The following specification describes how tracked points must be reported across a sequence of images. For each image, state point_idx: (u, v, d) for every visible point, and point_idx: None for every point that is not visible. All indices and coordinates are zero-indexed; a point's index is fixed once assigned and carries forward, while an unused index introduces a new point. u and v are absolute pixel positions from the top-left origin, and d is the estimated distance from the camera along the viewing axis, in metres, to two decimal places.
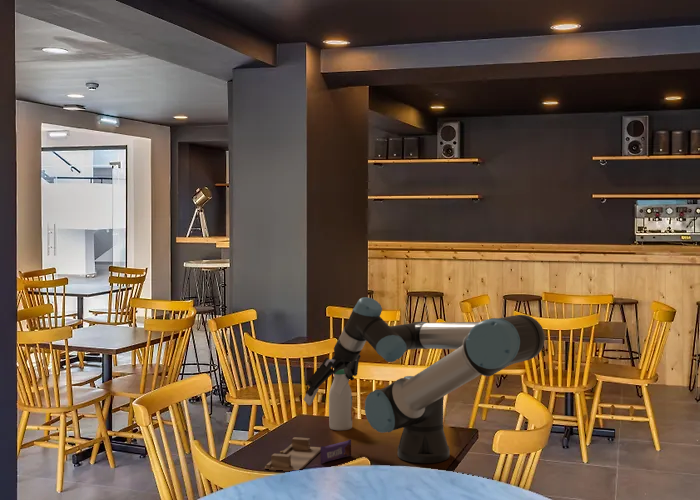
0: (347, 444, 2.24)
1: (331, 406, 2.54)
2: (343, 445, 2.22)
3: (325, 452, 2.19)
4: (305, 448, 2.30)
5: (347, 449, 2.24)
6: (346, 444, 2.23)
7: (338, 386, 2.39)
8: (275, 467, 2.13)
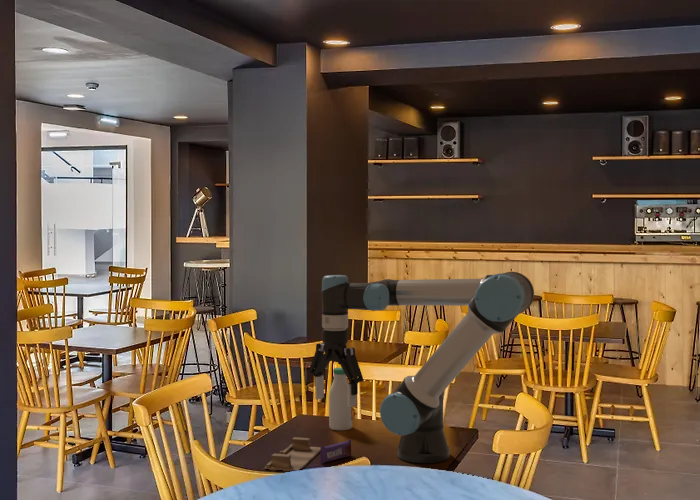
0: (347, 444, 2.24)
1: (331, 406, 2.54)
2: (343, 445, 2.22)
3: (325, 452, 2.19)
4: (305, 448, 2.30)
5: (347, 449, 2.24)
6: (346, 445, 2.23)
7: (318, 391, 2.26)
8: (275, 467, 2.13)
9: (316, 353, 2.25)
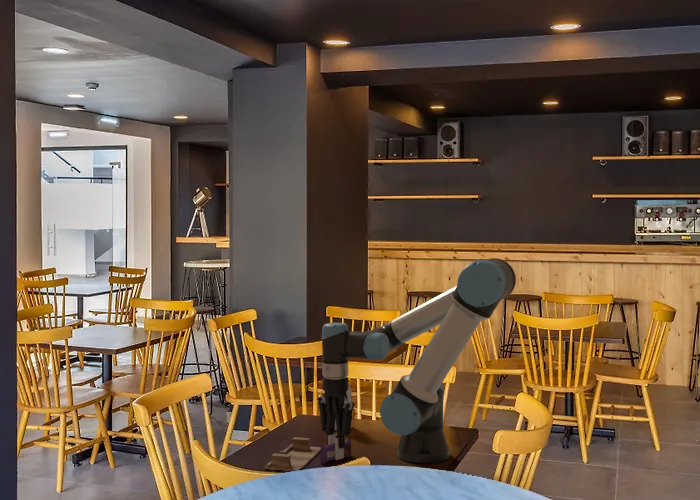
0: (347, 444, 2.24)
1: None
2: None
3: (325, 452, 2.19)
4: (305, 448, 2.30)
5: (347, 449, 2.24)
6: (346, 444, 2.23)
7: None
8: (275, 467, 2.13)
9: (320, 407, 2.24)
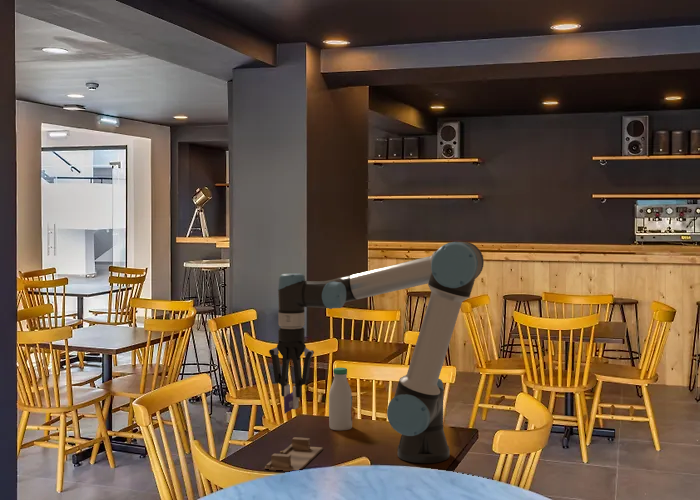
0: None
1: (331, 406, 2.54)
2: None
3: (287, 402, 2.18)
4: (305, 448, 2.30)
5: None
6: None
7: None
8: (275, 467, 2.13)
9: (273, 359, 2.22)
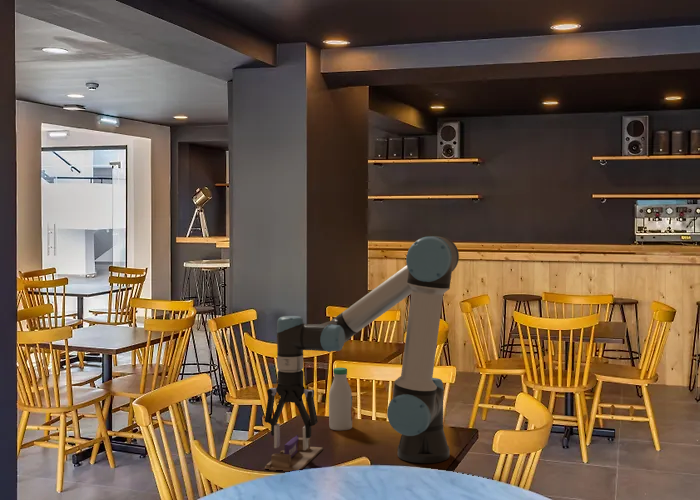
0: (298, 439, 2.26)
1: (331, 406, 2.54)
2: (296, 441, 2.25)
3: (288, 450, 2.19)
4: None
5: (298, 444, 2.26)
6: (298, 440, 2.26)
7: (277, 439, 2.23)
8: (275, 467, 2.13)
9: (269, 399, 2.23)
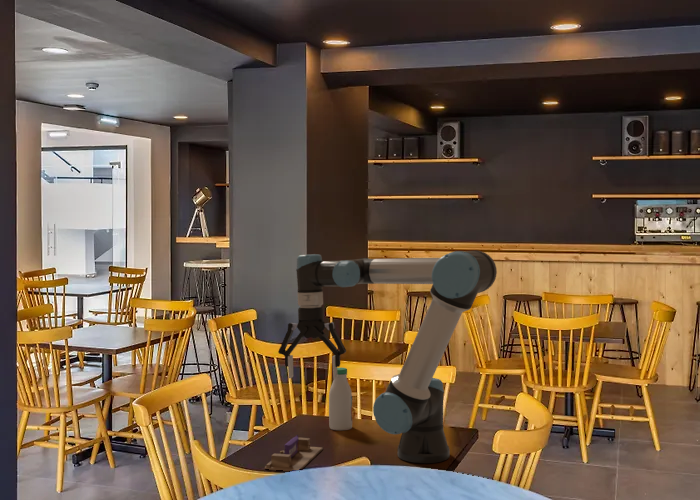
0: (298, 439, 2.26)
1: (331, 406, 2.54)
2: (296, 441, 2.25)
3: (288, 450, 2.19)
4: (305, 448, 2.30)
5: (298, 444, 2.26)
6: (298, 440, 2.26)
7: (291, 370, 2.29)
8: (275, 467, 2.13)
9: (288, 333, 2.29)
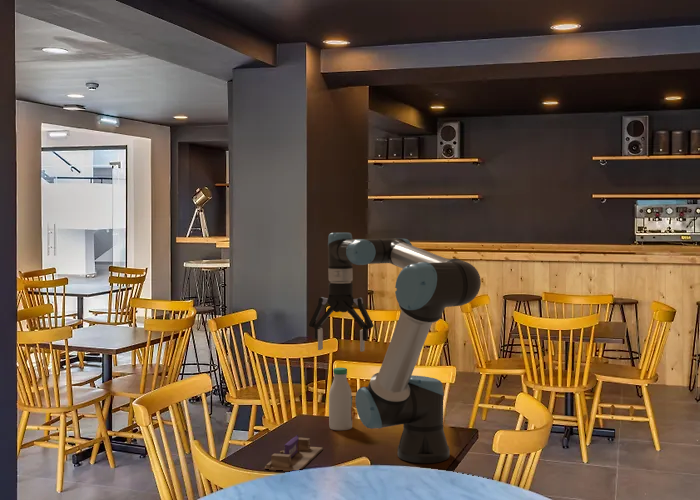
0: (298, 439, 2.26)
1: (331, 406, 2.54)
2: (296, 441, 2.25)
3: (288, 450, 2.19)
4: (305, 448, 2.30)
5: (298, 444, 2.26)
6: (298, 440, 2.26)
7: (320, 342, 2.40)
8: (275, 467, 2.13)
9: (319, 306, 2.40)
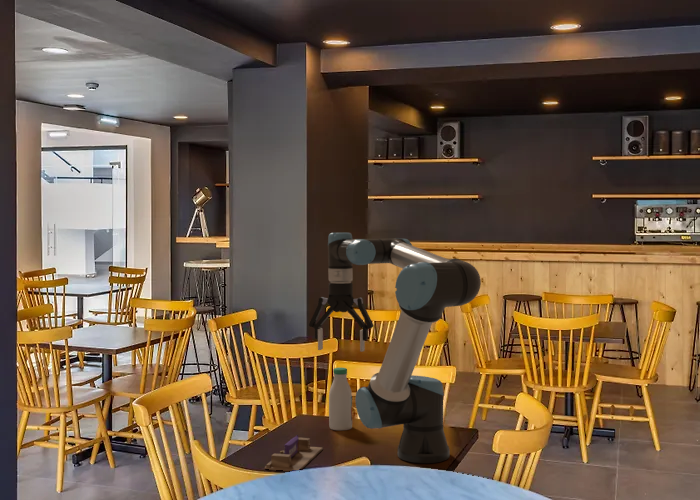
0: (298, 439, 2.26)
1: (331, 406, 2.54)
2: (296, 441, 2.25)
3: (288, 450, 2.19)
4: (305, 448, 2.30)
5: (298, 444, 2.26)
6: (298, 440, 2.26)
7: (320, 342, 2.40)
8: (275, 467, 2.13)
9: (319, 306, 2.40)
